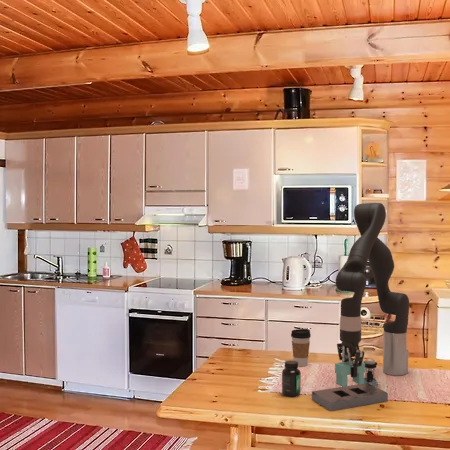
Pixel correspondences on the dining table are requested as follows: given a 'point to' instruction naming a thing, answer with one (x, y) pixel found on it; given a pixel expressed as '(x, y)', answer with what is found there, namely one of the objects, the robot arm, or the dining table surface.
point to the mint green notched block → (348, 373)
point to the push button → (370, 372)
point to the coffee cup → (301, 345)
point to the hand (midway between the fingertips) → (349, 375)
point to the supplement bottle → (291, 379)
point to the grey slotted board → (349, 396)
